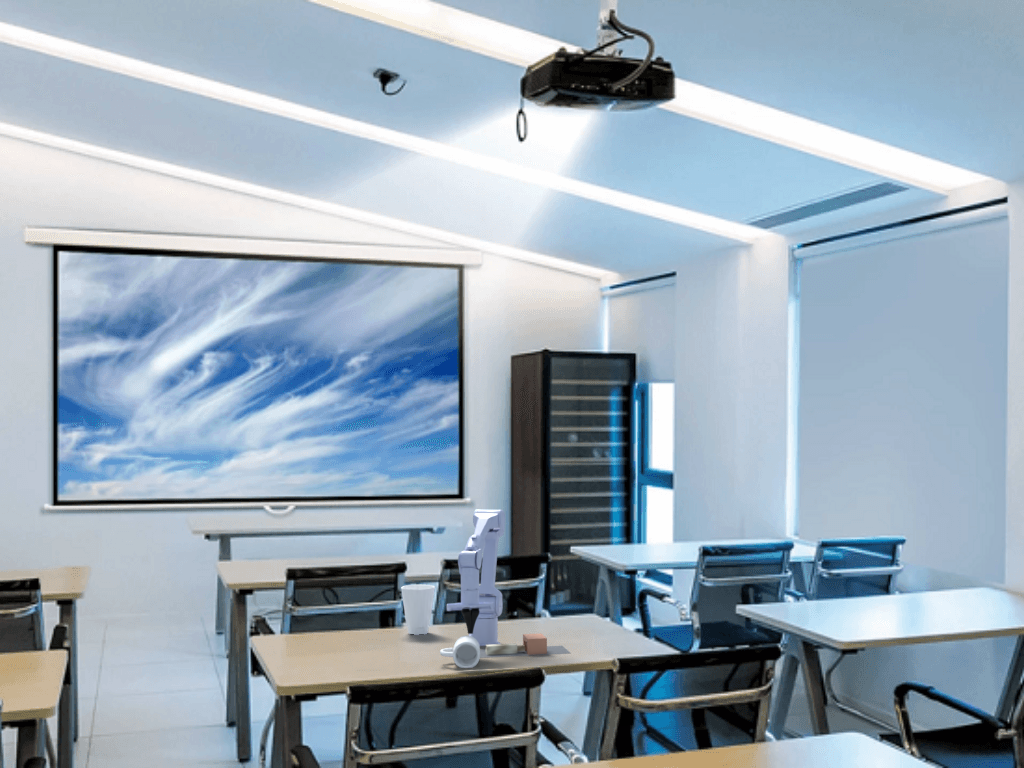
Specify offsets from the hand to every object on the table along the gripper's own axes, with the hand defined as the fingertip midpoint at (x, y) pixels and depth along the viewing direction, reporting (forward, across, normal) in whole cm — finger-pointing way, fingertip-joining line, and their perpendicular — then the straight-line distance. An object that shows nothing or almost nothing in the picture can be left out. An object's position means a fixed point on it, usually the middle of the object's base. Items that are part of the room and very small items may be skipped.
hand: (470, 633), depth 328 cm
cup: (+7, -12, +41) cm, 44 cm away
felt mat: (+7, +15, +1) cm, 17 cm away
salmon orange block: (+7, +20, 0) cm, 22 cm away
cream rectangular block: (+7, +11, 0) cm, 13 cm away
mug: (+8, -5, -12) cm, 15 cm away
